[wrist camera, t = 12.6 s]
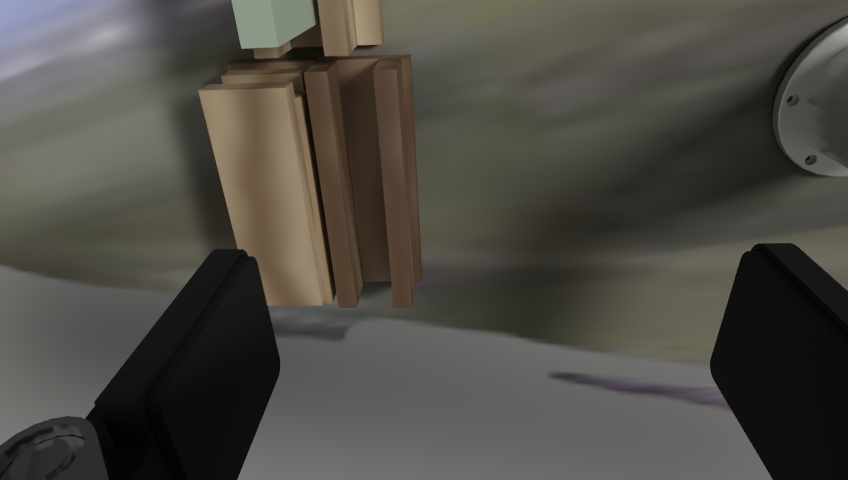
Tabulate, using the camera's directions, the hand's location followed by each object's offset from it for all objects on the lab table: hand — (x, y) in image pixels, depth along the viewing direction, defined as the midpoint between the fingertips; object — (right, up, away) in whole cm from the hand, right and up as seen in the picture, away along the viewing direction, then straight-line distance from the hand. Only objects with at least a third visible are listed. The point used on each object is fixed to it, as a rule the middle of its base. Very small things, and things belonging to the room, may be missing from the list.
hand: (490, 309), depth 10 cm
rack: (-9, +7, +35) cm, 37 cm away
